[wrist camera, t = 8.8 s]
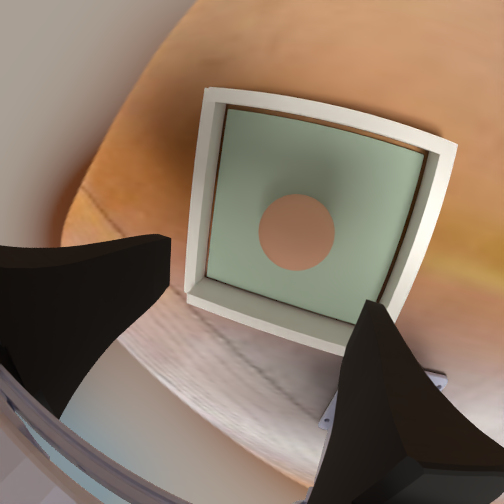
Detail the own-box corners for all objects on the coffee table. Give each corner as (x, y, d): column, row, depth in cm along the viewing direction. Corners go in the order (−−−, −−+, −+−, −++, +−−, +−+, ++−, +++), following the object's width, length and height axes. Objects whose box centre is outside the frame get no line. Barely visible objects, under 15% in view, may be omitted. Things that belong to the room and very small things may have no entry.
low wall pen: (373, 341, 19) (372, 365, 17) (194, 282, 23) (176, 298, 20) (444, 142, 13) (458, 144, 11) (216, 90, 17) (196, 86, 15)
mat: (364, 324, 19) (364, 327, 19) (208, 274, 22) (206, 276, 22) (423, 154, 14) (424, 154, 14) (230, 109, 17) (228, 108, 17)
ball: (327, 262, 18) (318, 294, 15) (265, 243, 19) (241, 270, 16) (345, 198, 16) (341, 216, 13) (277, 180, 17) (254, 193, 14)
